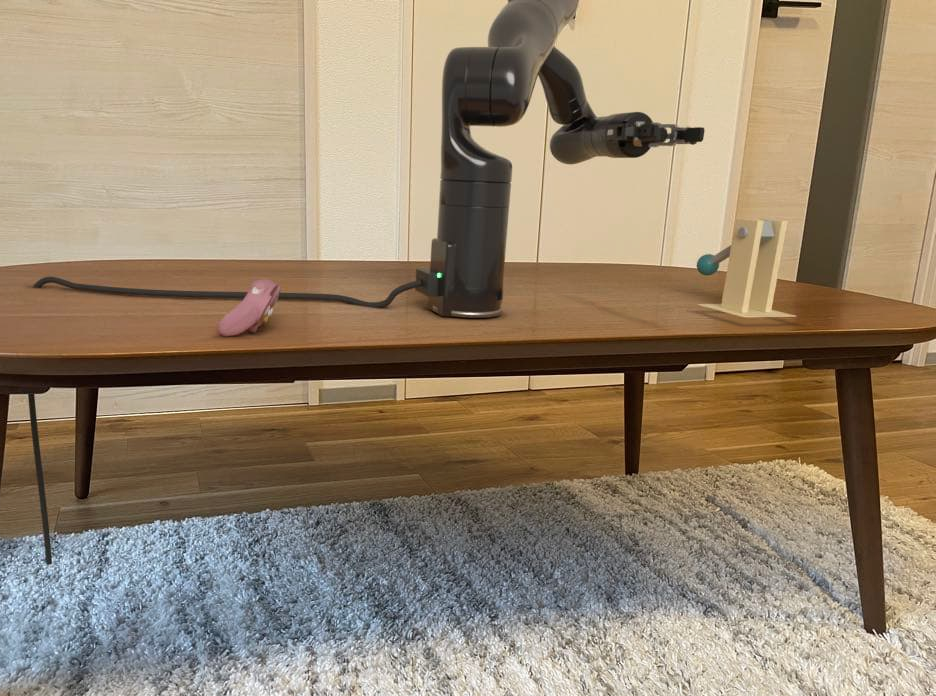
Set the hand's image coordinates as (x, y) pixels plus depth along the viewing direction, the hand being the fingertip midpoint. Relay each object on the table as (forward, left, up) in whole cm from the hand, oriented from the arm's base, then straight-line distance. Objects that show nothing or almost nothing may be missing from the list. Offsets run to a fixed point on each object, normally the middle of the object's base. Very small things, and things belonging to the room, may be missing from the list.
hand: (679, 133), depth 123 cm
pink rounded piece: (-70, -22, -26) cm, 78 cm away
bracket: (0, -21, -26) cm, 33 cm away
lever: (0, -17, -18) cm, 25 cm away
